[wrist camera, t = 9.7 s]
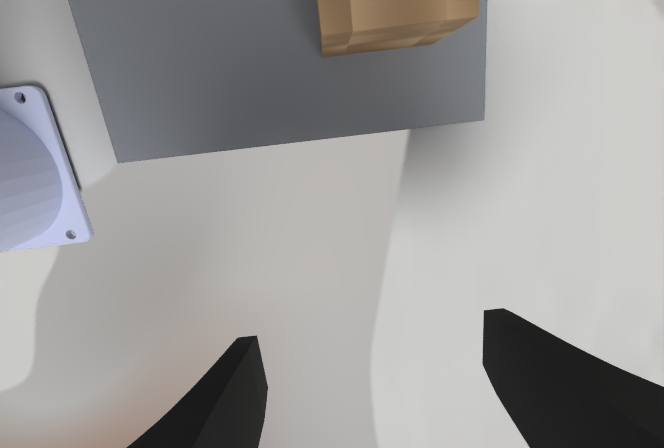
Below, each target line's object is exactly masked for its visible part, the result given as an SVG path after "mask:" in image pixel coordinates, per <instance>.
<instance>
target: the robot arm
mask: <svg viewBox="0 0 664 448" xmlns="http://www.w3.org/2000/svg"><path fill="white" fill-rule="evenodd" d="M22 94H24V96H25V97H26V101H25V103H24V102H23V101H22V99H21V95H22ZM71 231H73V232H74V233H75V234H76V237H74V236H73V235H72V234H71ZM92 237H93V229H92V226H91V223H90V221H89V218H88V215H87V212H86V209H85V206H84V203H83V201H82V197H81V195H80V192H79V189H78V186H77V183H76V180H75V177H74V174H73V172H72V169H71V166H70V163H69V160H68V157H67V154H66V151H65V149H64V146H63V143H62V140H61V137H60V134H59V131H58V128H57V126H56V123H55V120H54V117H53V114H52V111H51V108H50V105H49V102H48V100H47V97H46V95H45V93H44V91H43V90H42V89H41V88H39V87H37V86H19V87H11V88H3V89H0V253H2V252H4V251H10V250H19V249H28V248H37V247H45V246H54V245H63V244H71V243H80V242H85V241H88V240H90V239H91V238H92ZM483 366H484V368H485V371H486V373H487V375H488V377H489V379H490V382H491V384H492V386H493V388H494V390H495V392H496V394H497V396H498V397H499V399H500V401H501V402H502V404H503V406H504V407H505V409H506V410H507V412H508V414H509V415H510V417H511V419H512V420H513V422H514V423H515V425H516V426H517V428H518V430H519V431H520V433H521V434H522V436H523V438H524V439H525V441H526V442H527V444H528V445H529V447H530V448H664V387H662V386H660V385H658V384H655V383H653V382H650V381H648V380H646V379H643V378H641V377H638V376H636V375H634V374H631V373H629V372H627V371H624V370H622V369H620V368H618V367H616V366H613V365H611V364H609V363H607V362H605V361H603V360H601V359H599V358H597V357H595V356H593V355H591V354H589V353H587V352H585V351H583V350H581V349H579V348H577V347H575V346H573V345H571V344H569V343H567V342H565V341H563V340H562V339H560V338H558V337H556V336H554V335H552V334H551V333H549V332H547V331H545V330H543V329H541V328H540V327H538V326H536V325H534V324H532V323H531V322H529V321H527V320H525V319H523V318H521V317H520V316H518V315H516V314H514V313H512V312H510V311H508V310H506V309H504V308H502V309H493V310H484V329H483ZM267 391H268V386H267V381H266V377H265V372H264V367H263V363H262V357H261V353H260V348H259V344H258V339H257V336H248V337H240V338H237V339H236V340H235V341H234V342H233V343H232V345H231V346H230V347H229V348H228V349H227V350H226V352H225V353H224V354H223V355H222V356H221V357H220V358H219V360H217V362H216V363H215V364H214V365H213V366H212V367H211V368H210V369H209V370H208V372H207V373H206V374H205V375H204V376H203V377H202V378H201V379H200V380H199V381H198V383H197V384H196V385H195V386H194V387H193V388H192V389H191V390H190V391H189V392H188V393H187V394H186V395H185V396H184V397H183V398H182V399H181V400H180V401H179V402H178V403H177V404H176V405H175V406H174V407H173V408H172V409H171V410H170V411H168V412H167V413H166V414H165V415H164V416H163V417H162V418H161V419H160V420H159V421H158V422H156V423H155V424H154V425H153V426H152V427H151V428H150V429H148V430H147V431H146V432H145V433H144V434H143V435H141V436H140V437H139V438H138V439H137V440H136V441H134V442H133V443H132V444H131V445H129V446H128V447H127V448H258V446H259V441H260V437H261V432H262V428H263V423H264V418H265V409H266V401H267Z"/></svg>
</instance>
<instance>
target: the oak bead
mask: <svg viewBox="0 0 664 448" xmlns="http://www.w3.org/2000/svg"><path fill="white" fill-rule="evenodd" d="M316 5H317V14H318V24H319V33H320V42H321V51H322V58H324V57H333V56H341V55H349V54H358V53H366V52H374V51H383V50H391V49H400V48H408V47H416V46H425V45H432V44H434V43H435V42H437V41H439V40H440V39H442V38H444V37H445V36H447V35H449V34H450V33H452V32H453V31H455V30H457V29H458V28H460V27H462V26H463V25H465V24H467V23H468V22H470V21H472V20H473V19H475V18H477V17H478V16H479V0H316Z"/></svg>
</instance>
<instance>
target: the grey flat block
mask: <svg viewBox="0 0 664 448" xmlns="http://www.w3.org/2000/svg"><path fill="white" fill-rule="evenodd" d="M68 1H69V5H70V8H71V11H72V14H73V18H74V21H75V24H76V28H77V31H78V34H79V37H80V41H81V44H82V47H83V51H84V54H85V57H86V60H87V64H88V67H89V70H90V74H91V77H92V80H93V83H94V87H95V90H96V93H97V97H98V100H99V103H100V106H101V110H102V113H103V116H104V120H105V123H106V126H107V129H108V133H109V136H110V139H111V143H112V146H113V149H114V152H115V156H116V159H117V162H118V163H124V162H132V161H141V160H148V159H158V158H165V157H174V156H183V155H192V154H200V153H209V152H217V151H226V150H233V149H243V148H251V147H259V146H268V145H277V144H285V143H293V142H302V141H311V140H319V139H328V138H336V137H345V136H353V135H362V134H370V133H379V132H387V131H396V130H404V129H413V128H421V127H430V126H438V125H447V124H455V123H464V122H472V121H481V120H484V111H485V68H486V25H487V0H479V16H478V17H477V18H475V19H473V20H472V21H470V22H468V23H467V24H465V25H463V26H462V27H460V28H458V29H457V30H455V31H453V32H452V33H450V34H449V35H447V36H445V37H444V38H442V39H440V40H439V41H437V42H435V43H434V44H432V45H425V46H416V47H408V48H400V49H391V50H383V51H374V52H366V53H358V54H349V55H341V56H333V57H324V58H322V51H321V42H320V33H319V24H318V14H317V5H316V0H68Z"/></svg>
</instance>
